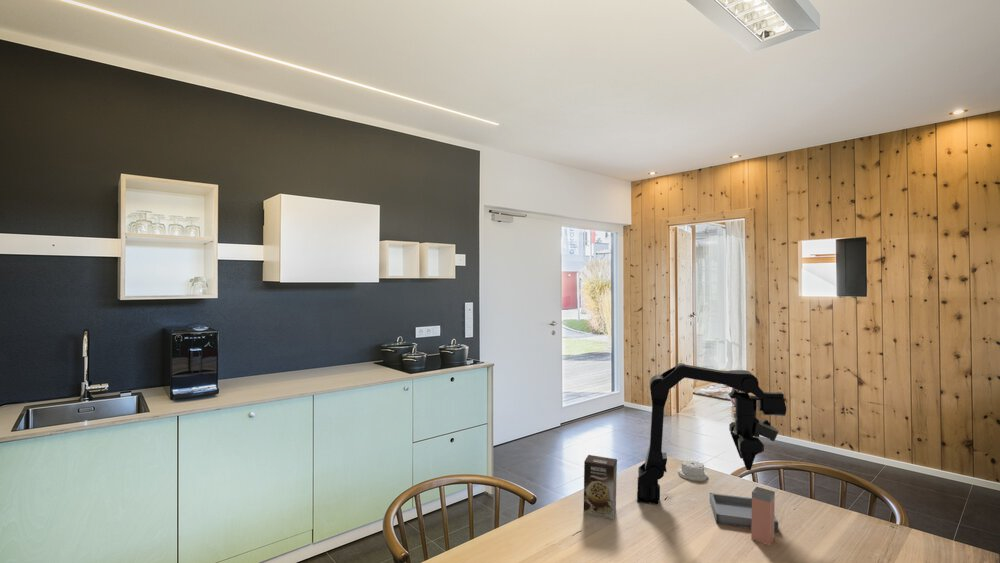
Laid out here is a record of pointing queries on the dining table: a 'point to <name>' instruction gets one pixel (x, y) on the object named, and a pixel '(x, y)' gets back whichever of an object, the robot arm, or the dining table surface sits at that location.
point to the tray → (733, 510)
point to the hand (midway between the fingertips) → (745, 464)
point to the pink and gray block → (763, 515)
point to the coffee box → (600, 486)
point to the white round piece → (693, 471)
